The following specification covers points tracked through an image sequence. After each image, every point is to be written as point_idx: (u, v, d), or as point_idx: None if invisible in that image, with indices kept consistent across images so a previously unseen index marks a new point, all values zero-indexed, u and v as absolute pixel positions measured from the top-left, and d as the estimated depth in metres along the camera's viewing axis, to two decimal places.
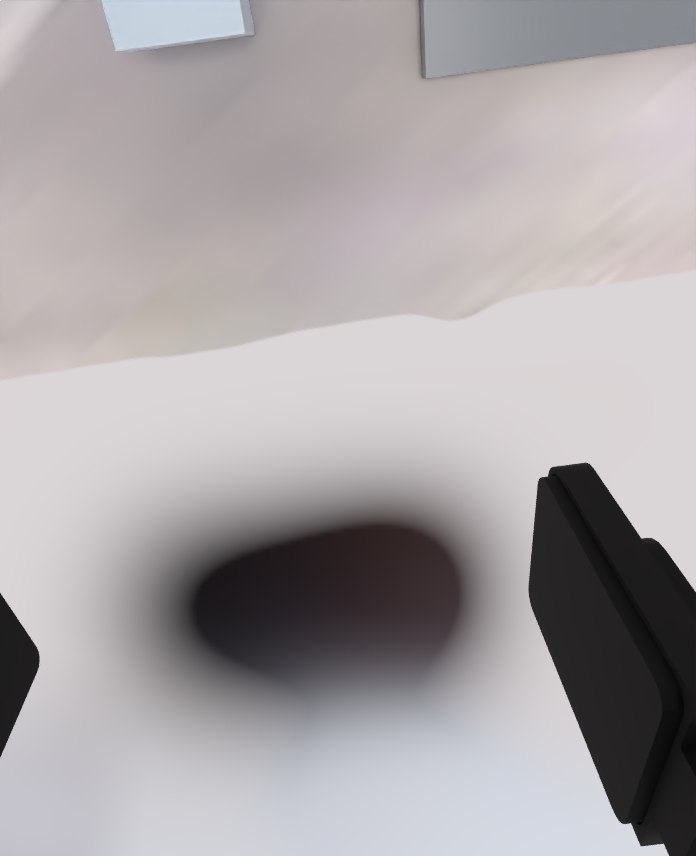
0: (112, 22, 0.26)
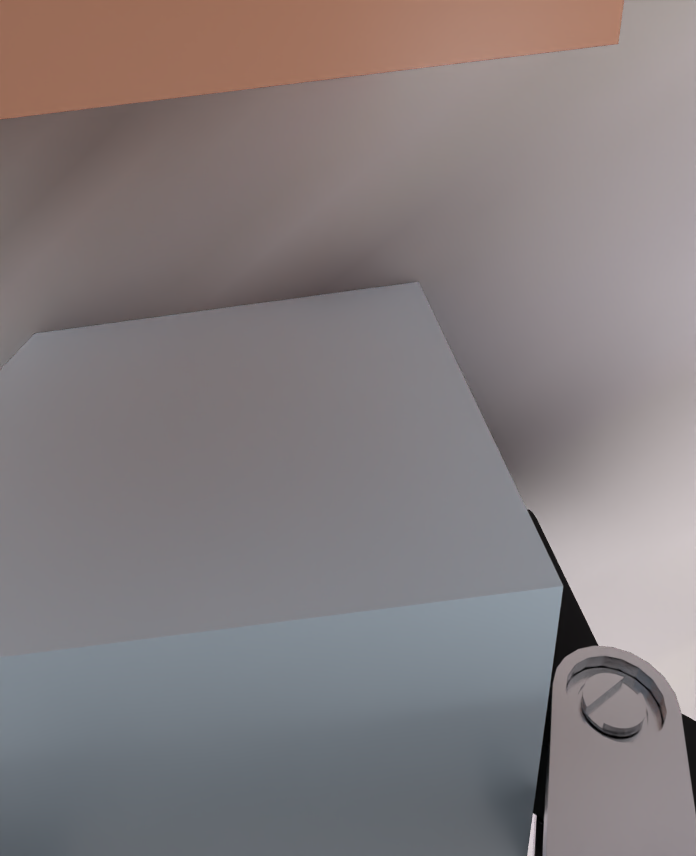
0: None
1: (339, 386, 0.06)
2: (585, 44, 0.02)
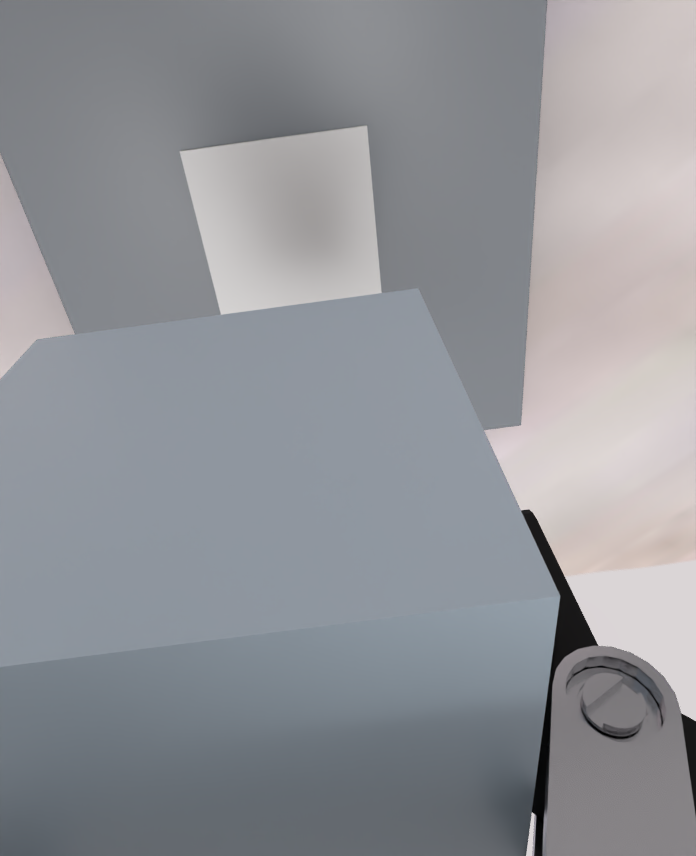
0: None
1: (339, 394, 0.07)
2: None
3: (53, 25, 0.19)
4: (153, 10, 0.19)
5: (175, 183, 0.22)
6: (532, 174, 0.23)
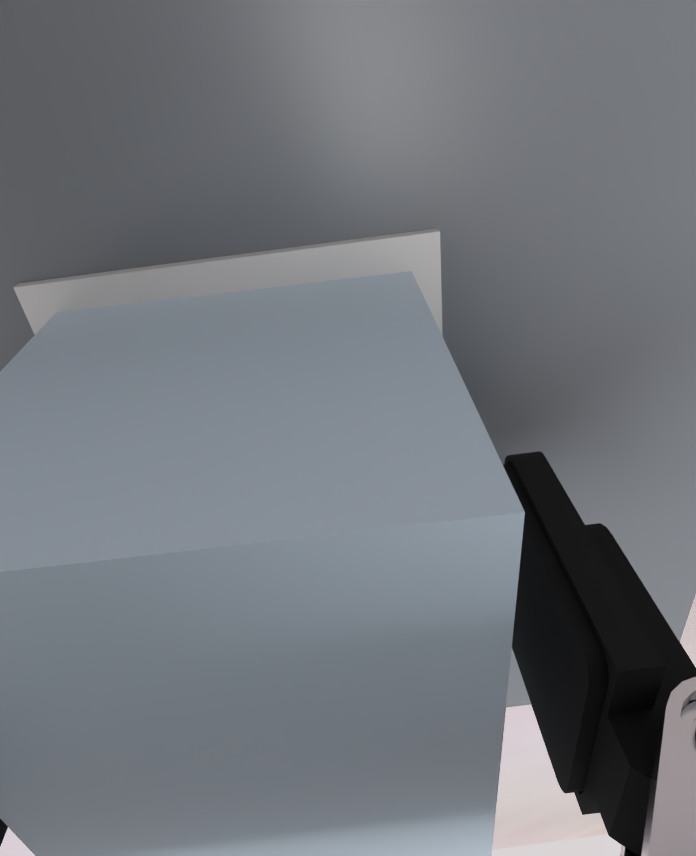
0: None
1: (338, 358, 0.07)
2: None
3: None
4: None
5: (16, 346, 0.10)
6: None
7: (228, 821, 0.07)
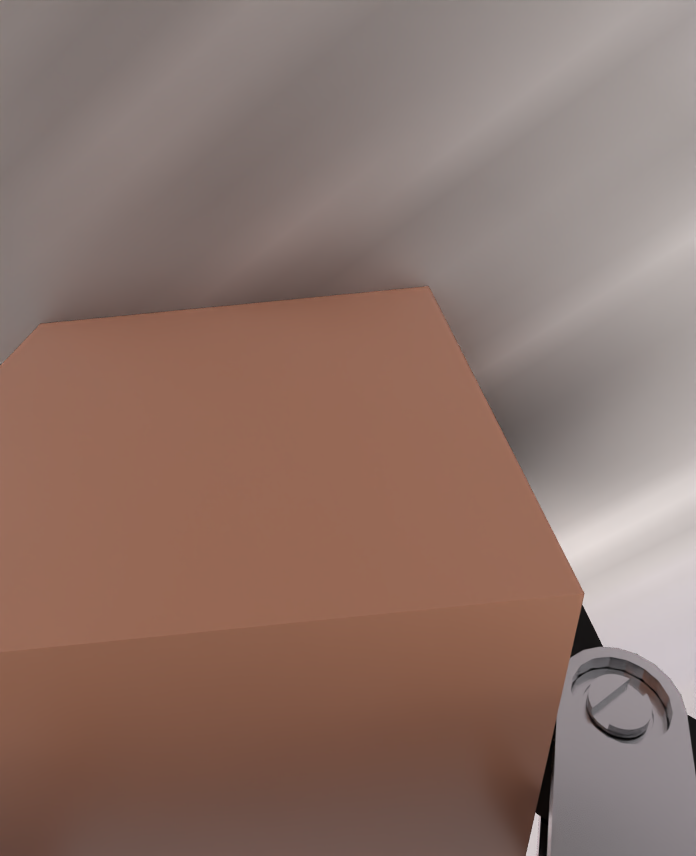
0: None
1: None
2: None
3: None
4: None
5: None
6: None
7: None
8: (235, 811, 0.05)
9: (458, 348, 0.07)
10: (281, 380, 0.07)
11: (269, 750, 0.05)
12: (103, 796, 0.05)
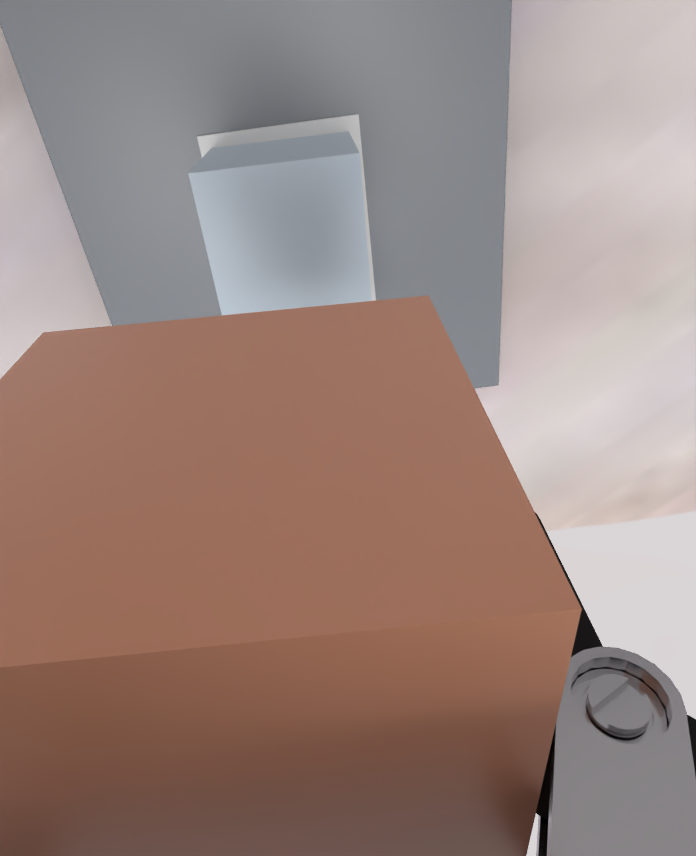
0: None
1: (318, 144, 0.23)
2: None
3: (91, 28, 0.23)
4: (176, 15, 0.23)
5: (192, 164, 0.26)
6: (502, 157, 0.26)
7: (284, 293, 0.23)
8: (237, 821, 0.05)
9: (458, 359, 0.07)
10: (282, 390, 0.07)
11: (271, 760, 0.05)
12: (107, 806, 0.05)
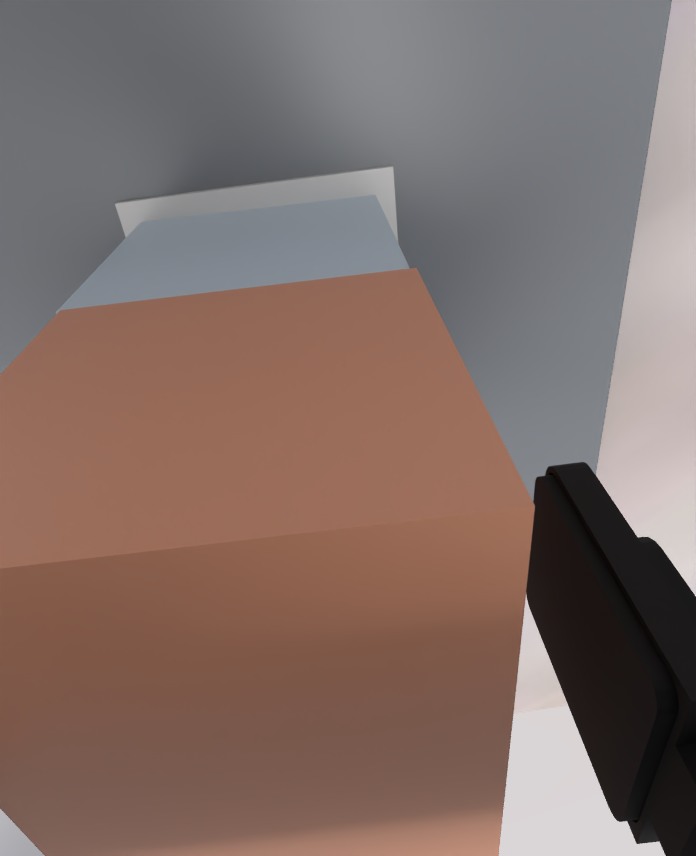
0: None
1: (324, 231, 0.12)
2: None
3: None
4: None
5: (112, 247, 0.15)
6: (628, 233, 0.16)
7: None
8: (245, 721, 0.06)
9: (440, 319, 0.08)
10: (280, 350, 0.08)
11: (273, 658, 0.06)
12: (130, 706, 0.06)
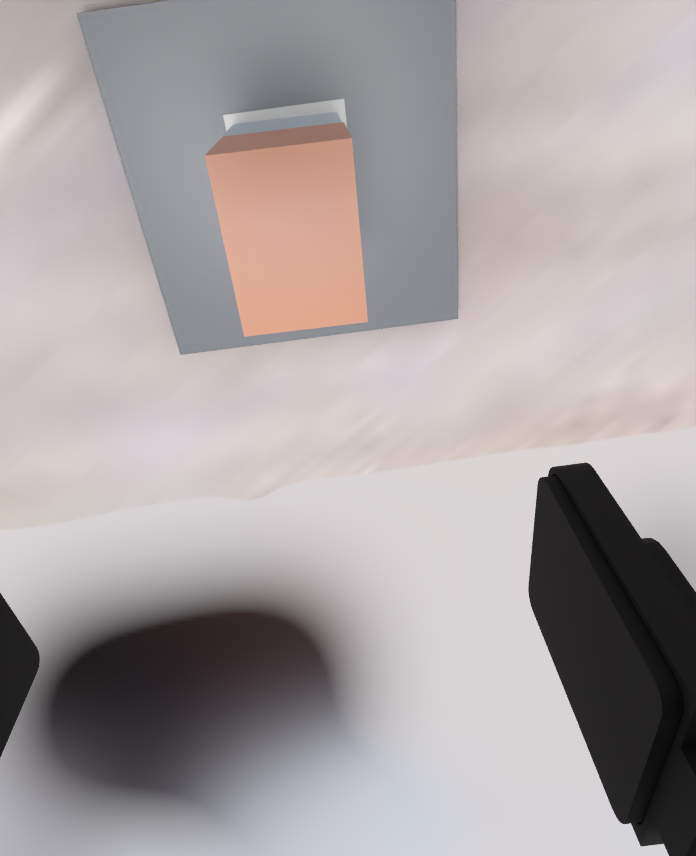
0: None
1: (313, 119, 0.31)
2: (365, 321, 0.28)
3: (147, 34, 0.31)
4: (210, 24, 0.31)
5: (219, 136, 0.34)
6: (454, 132, 0.34)
7: None
8: (291, 212, 0.25)
9: (346, 127, 0.26)
10: (298, 133, 0.26)
11: (298, 186, 0.24)
12: (264, 203, 0.24)
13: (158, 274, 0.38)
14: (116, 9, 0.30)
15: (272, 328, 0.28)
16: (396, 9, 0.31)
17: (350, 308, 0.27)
